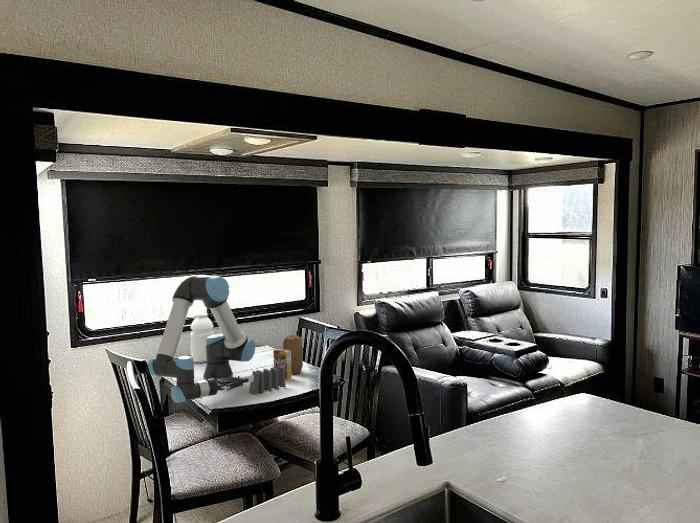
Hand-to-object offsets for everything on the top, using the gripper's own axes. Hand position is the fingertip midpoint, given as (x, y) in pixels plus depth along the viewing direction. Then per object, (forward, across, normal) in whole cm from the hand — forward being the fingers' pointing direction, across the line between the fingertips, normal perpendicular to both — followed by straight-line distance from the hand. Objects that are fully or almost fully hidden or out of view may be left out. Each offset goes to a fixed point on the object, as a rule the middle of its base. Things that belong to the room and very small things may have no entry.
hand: (253, 378), depth 260 cm
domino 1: (0, 0, -7) cm, 7 cm away
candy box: (+24, -12, -8) cm, 28 cm away
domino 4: (+12, 0, -8) cm, 14 cm away
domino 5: (+16, 0, -8) cm, 18 cm away
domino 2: (+4, 0, -8) cm, 8 cm away
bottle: (+8, -76, -8) cm, 77 cm away
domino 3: (+8, 0, -8) cm, 11 cm away
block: (+34, -18, -8) cm, 39 cm away
